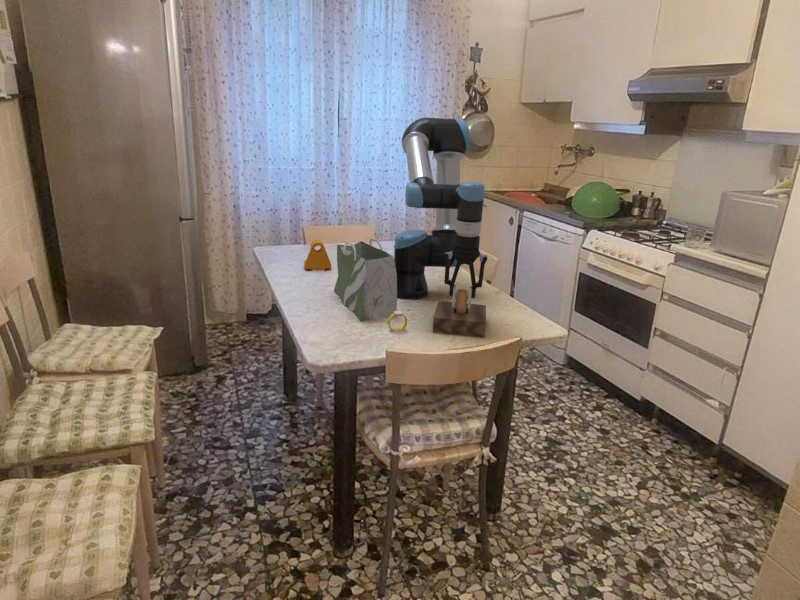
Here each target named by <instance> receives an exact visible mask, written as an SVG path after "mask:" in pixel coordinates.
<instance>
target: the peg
mask: <svg viewBox="0 0 800 600" xmlns="http://www.w3.org/2000/svg"><path fill="white" fill-rule="evenodd" d="M468 293H469V292H468V290H467V289H463V288H462V289H461V288H459V289H458V290H457V296H456V299H457V300H456V302H457V310H456V313H462V314H466V303H468Z"/></svg>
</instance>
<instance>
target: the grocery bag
mask: <svg viewBox="0 0 800 600" xmlns="http://www.w3.org/2000/svg"><path fill="white" fill-rule="evenodd" d="M372 242H376V243H377V245H378V246H379V248H377V247H376V246H373V245H372ZM336 262H337V263H336V265H337V279H336V283H335V285H334V288H333V292H334V294H335V295H336V294H337V295H338V296H339V297H338V296H337V295H336V296H337V297H338V298H339V300H340V299H341V300H340V302H341V301H342V302H341V304H342V303H343V304H342V305H344V306H343V307H344V308H346V307H347V308H348V311H350V310H351V311H352V312H351V311H350V312H351V313H353V314H354V315H355V316H357V317H356V318H357V319H358V321H359V322H360V323H362V322H367V321H368V322H369V321H376V320H381V319H382V320H383V319H388V318H389V317H390V315H392V314H393V313H394V311H397V308H398V305H397V304H398V297H397V272H396V267H395V262H394V256H393V255H392V254H390V253H388V252H386V251H385V250H383V247H382V245H381V242H380V241H379V240H378V239H376V238H373V237H370V238H369V244H368V243H367V242H365V241H362V240H361V241H358V242H357V243H355V244H354V243H352V242H350V241H348V240H347V241H346V242H345V244H337V245H336ZM347 308H346V309H347ZM393 318H397V316H394V317H392V318H391V319H393Z"/></svg>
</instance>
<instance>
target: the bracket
mask: <svg viewBox="0 0 800 600" xmlns="http://www.w3.org/2000/svg"><path fill="white" fill-rule="evenodd" d="M317 246H320V248H319V249H315V248H316V247H317ZM303 264H304V265H303V266H304V269H305V270H311V271H312V270H324V271H326V270H327V269H328V270H329V269H332V263H331V260H330V259H329V256H328V253H327V251H326V248H325V245H324V243H323V241H321V240H317V239H316V240H313V241H311V244H310V249H309V252H308V254H307V257H306V259H305V260H303Z"/></svg>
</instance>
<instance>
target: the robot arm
mask: <svg viewBox="0 0 800 600" xmlns="http://www.w3.org/2000/svg"><path fill="white" fill-rule="evenodd" d="M401 147H402V150H403V152H404V153H405V154H406V162H407V169H408V176H409V183H407V184H406V186H405V192H404V193H405V195H404V199H405V200H404V201H405V205H406V206H407V208H414V209H435V226H434V227H433V228H432V229H431V234H428V232H427V231H426V230H422V229H411V230H410V229H409V230H405V231H402V232H398V233H397V234H396V235H395V237H394V245H393V248H394V249H393V250H394V253H393V255H394V256H393V258H394V262H395V267H396V272H397V298H399V299H405V300H406V299H408V300H413V299H421V298H424V297H426V296H428V295H429V287H428V282H427V278H426V274H425V269H426V267H432V268H433V267H434V268H444V269H445V270H444V284H445V285H448V286H449V293H448V294H449V296H450V297H452V299H451V300H452V301H451V302H452V307H454V306H455V302H456V297H457V296H456V295H457V294H456V293H457V284H455V283H456V280H457V277H458V274H459V270H460V267H461V266H462V265H467V266H468V268H469V275H470V282H471V285H470V286H469V292H468V300H467V303H468V308H470V305H471V304H472V303H471V302H472V299H475V298H476V290H477V288H482V287H483V281H484V280H483V279H484V273H485V265H486V263H487V261H488V255H487V254H485V255H484V254H482V253H481V251H480V242H481V241H480V239H481V236H480V234H481V232H482V231H481V230H482V222H483V221H482V218H483V211H484V210H483V209H484V201H485V200H484V199H485V197H486V195H485V187H486V186H485V184H483V183H481V182H476V181H463V182H461V162H462V160H463V159H464V158H465V157H466V155H465V154H466V153H468V152H469V151H470V147H471V135H470V127H469V125H468V123H467V122H466V120H465V119H459V118H454V117H453V118H444V117H443V118H439V117H421V118H417V119H416V120H414V121H413V122H411V123H410V124H409V125H407V127H406V128H405V130H404V132H403V135H402V138H401ZM429 152H432V157H433V158H434V159H435V161H436V183H435V182H434V177H433V172H432V166H431V162H430V155H429ZM478 258H479V262H480V265H479V275H478V281H476V273H475V265H474V263H475V262H476V261H477V259H478ZM450 268H454V271H453V273H452V277H451V280H450Z"/></svg>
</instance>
